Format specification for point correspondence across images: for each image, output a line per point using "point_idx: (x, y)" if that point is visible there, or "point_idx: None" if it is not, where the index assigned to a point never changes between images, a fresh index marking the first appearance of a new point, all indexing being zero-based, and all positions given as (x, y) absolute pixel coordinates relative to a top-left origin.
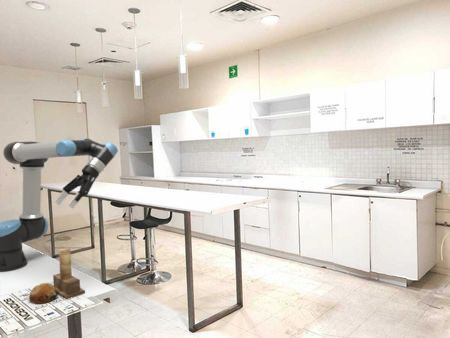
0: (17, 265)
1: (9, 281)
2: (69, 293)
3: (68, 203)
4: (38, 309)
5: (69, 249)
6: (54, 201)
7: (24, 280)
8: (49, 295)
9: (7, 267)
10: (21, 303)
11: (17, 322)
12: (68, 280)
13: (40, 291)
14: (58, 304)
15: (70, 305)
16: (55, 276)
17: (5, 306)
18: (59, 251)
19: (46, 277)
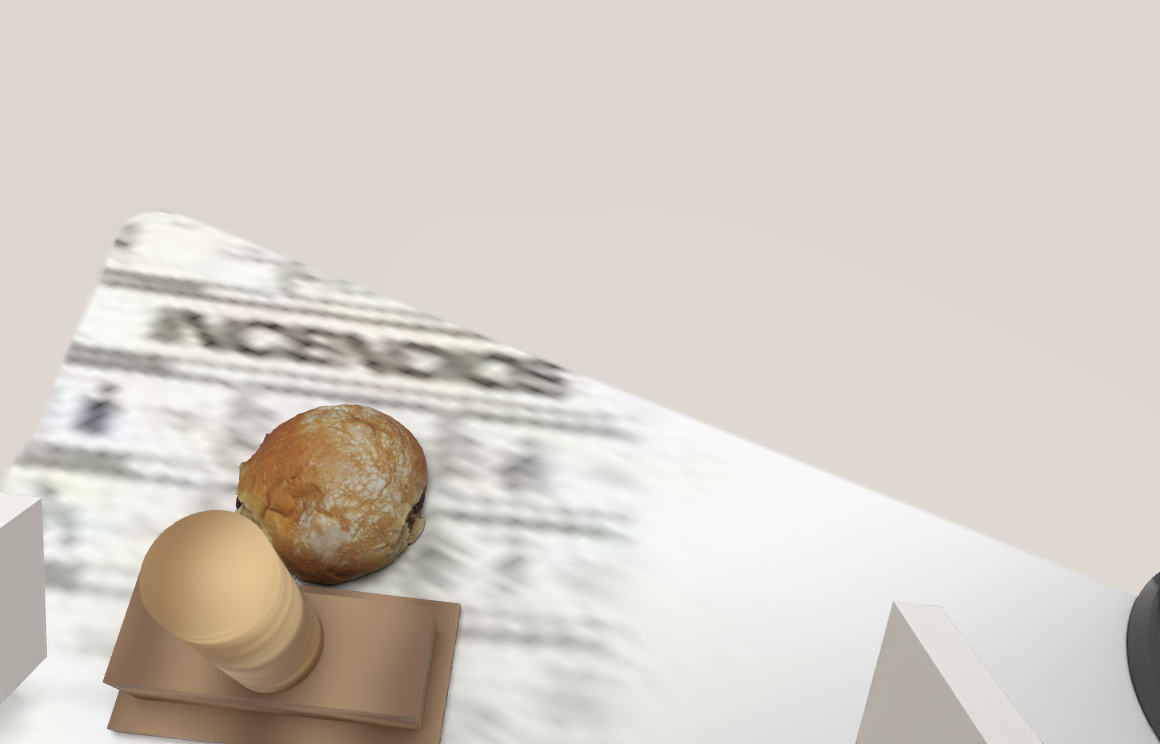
0: (1155, 682)
1: (875, 522)
2: None
3: (15, 517)
4: (222, 404)
5: (159, 611)
6: (924, 607)
7: (808, 593)
8: (239, 477)
9: (1151, 606)
10: (409, 393)
11: (191, 275)
12: None
13: (287, 429)
14: (156, 506)
15: (55, 541)
16: (389, 604)
17: (456, 329)
18: (220, 510)
19: (733, 733)
